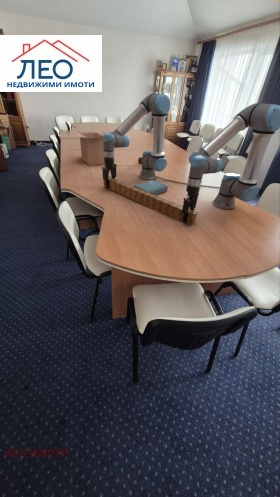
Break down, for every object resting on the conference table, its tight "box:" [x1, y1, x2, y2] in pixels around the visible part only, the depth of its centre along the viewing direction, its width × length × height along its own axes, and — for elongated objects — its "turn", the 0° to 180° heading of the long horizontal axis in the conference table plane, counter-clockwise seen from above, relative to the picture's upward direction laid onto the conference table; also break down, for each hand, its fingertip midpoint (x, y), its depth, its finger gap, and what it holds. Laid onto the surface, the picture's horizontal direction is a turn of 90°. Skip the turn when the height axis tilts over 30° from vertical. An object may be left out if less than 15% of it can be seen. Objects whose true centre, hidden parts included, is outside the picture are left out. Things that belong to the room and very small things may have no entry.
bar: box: [103, 176, 198, 226], centre depth 157 cm, size 83×4×8 cm, turn 48°
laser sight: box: [137, 156, 143, 165], centre depth 237 cm, size 10×22×10 cm, turn 78°
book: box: [133, 179, 169, 196], centre depth 177 cm, size 23×16×5 cm
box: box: [70, 129, 106, 166], centre depth 229 cm, size 44×36×27 cm
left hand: (110, 187), depth 177 cm, fingers closed on bar, 5 cm apart
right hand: (186, 220), depth 140 cm, fingers closed on bar, 5 cm apart
